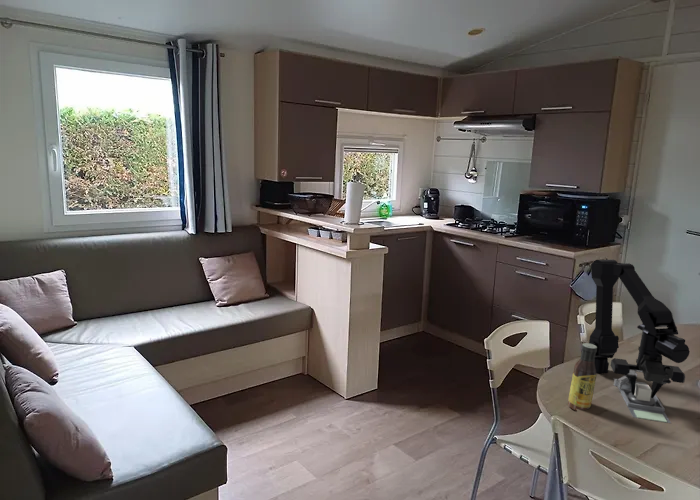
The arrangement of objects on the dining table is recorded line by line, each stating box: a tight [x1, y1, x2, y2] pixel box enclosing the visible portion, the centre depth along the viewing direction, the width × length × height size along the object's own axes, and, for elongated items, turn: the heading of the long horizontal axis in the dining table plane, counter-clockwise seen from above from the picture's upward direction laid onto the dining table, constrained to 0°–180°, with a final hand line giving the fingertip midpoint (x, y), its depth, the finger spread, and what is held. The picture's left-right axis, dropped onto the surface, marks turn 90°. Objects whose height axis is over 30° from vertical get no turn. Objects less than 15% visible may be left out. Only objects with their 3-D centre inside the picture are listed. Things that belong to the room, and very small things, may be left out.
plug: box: [628, 383, 655, 406], centre depth 155 cm, size 7×7×5 cm
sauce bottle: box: [567, 342, 598, 411], centre depth 151 cm, size 7×6×20 cm
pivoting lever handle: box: [613, 372, 638, 388], centre depth 164 cm, size 3×11×3 cm, turn 126°
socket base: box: [613, 377, 672, 424], centre depth 157 cm, size 10×25×2 cm, turn 165°
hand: (642, 396), depth 155 cm, fingers open, 5 cm apart
